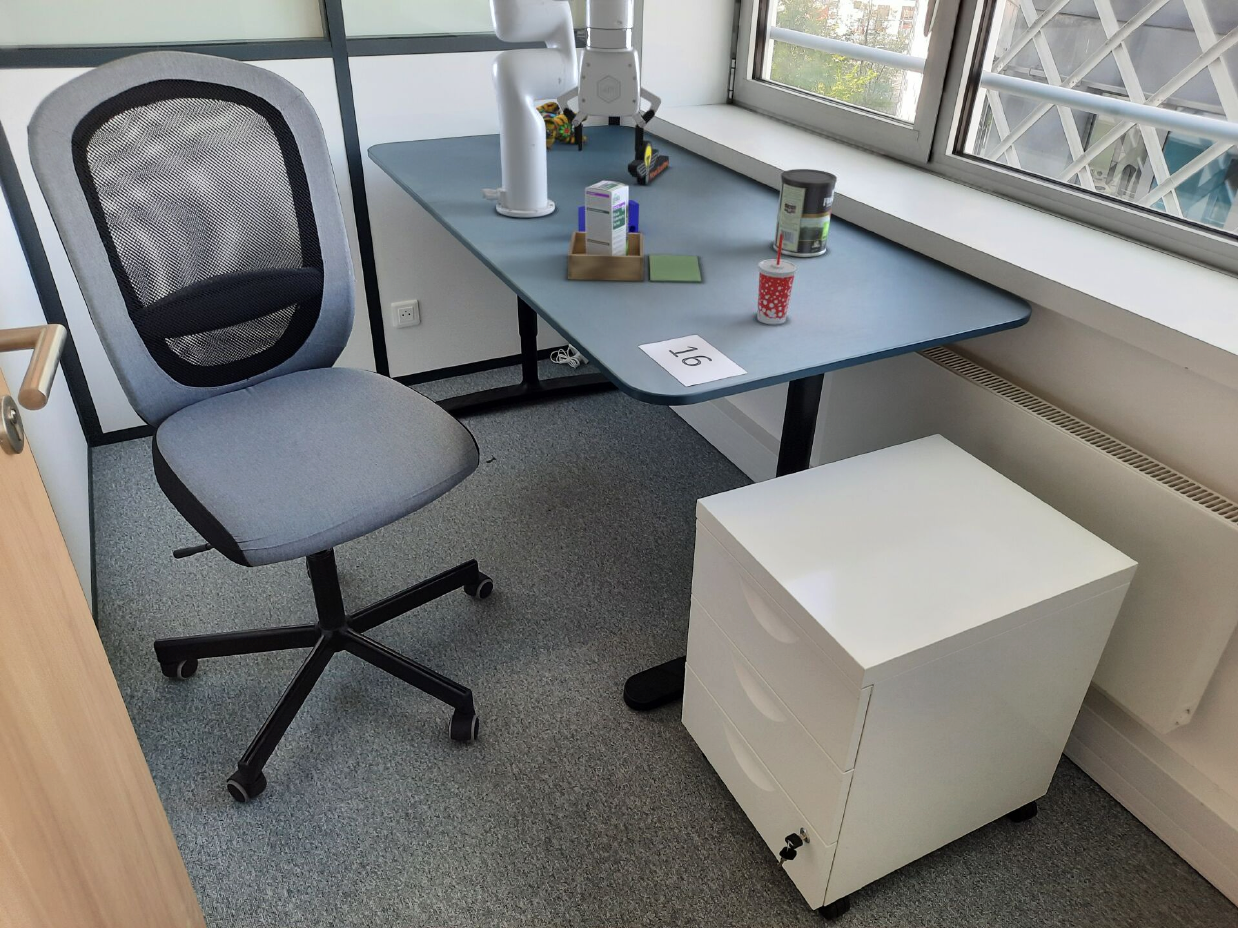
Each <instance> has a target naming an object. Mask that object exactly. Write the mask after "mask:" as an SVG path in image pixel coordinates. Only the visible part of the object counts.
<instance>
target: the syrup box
mask: <svg viewBox="0 0 1238 928" xmlns="http://www.w3.org/2000/svg"><path fill="white" fill-rule="evenodd" d="M629 190H630V189H629V185H628V184H626V183H622V182H618V181H612V180H601V181H599V182H597V183H594V184H592V185H590V186H586V187H585V188H584V206H585V230H586V255H620V256H628V200H629Z"/></svg>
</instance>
